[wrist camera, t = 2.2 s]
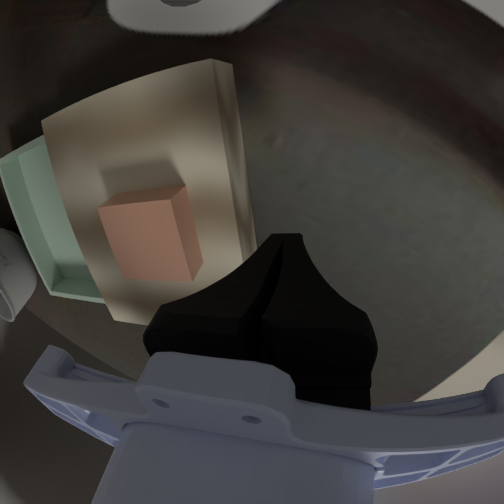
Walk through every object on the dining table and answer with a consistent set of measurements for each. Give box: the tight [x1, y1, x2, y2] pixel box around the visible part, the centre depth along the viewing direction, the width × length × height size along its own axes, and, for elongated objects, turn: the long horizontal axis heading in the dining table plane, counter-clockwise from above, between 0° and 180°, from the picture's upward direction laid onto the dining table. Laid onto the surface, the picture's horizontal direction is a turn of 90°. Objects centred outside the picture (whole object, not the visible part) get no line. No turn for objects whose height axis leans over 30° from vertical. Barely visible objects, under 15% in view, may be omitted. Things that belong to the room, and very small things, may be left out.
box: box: [0, 135, 106, 304], centre depth 22 cm, size 16×10×3 cm, turn 7°
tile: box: [97, 185, 203, 282], centre depth 16 cm, size 5×5×2 cm
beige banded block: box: [41, 58, 257, 325], centre depth 19 cm, size 18×13×4 cm
